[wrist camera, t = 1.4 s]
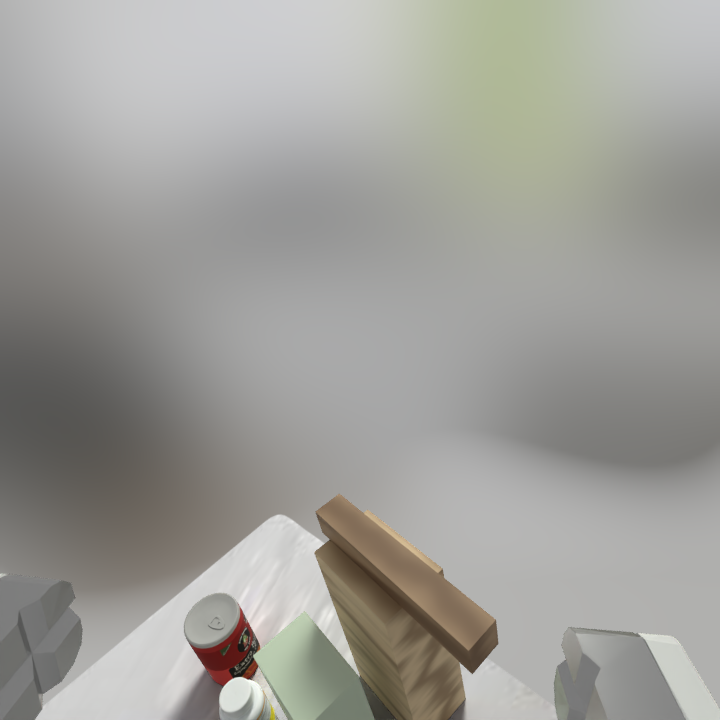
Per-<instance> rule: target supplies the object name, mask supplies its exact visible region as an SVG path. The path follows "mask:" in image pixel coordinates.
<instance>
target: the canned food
mask: <svg viewBox="0 0 720 720" xmlns="http://www.w3.org/2000/svg"><path fill="white" fill-rule="evenodd" d="M184 633H185V636H186V639H187V641H188V642H189V644H190V645H191V647H192V649H193V650H194V652H195V653H196V655H197V656H198V658H199V659H200V661H201V662H202V664H203V665H204V667H205V668H206V670H207V671H208V673H209V674H210V676H211V677H212V679H213V680H214V681H215V682H216V683H218V684H220V685H222V686H225V685H226V684H227V683H228V682H229V681H230V680H232V679H234V678H237V677H243V678H245V679H247V680H248V679H249V678H250V677H251V676H252V675H253V673H254V672H255V670H256V669H257V667H258V664H257V663H256V661H255V659H254V657H253V655H254V654H256V653H257V652H258V651H259V650H260V645H259V642H258V640H257V638H256V636H255V634H254V632H253V631H252V629H251V627H250V625H249V623H248V621H247V619H246V617H245V615H244V613H243V611H242V609H241V608H240V606H239V604H238V602H237V601H236V600H235V599H234V597H232V596H231V595H229V594H227V593H215V594H211V595H208V596H206V597H204V598H203V599H201V600H200V601H199V602H197V603H196V604H195V605H194V606H193V607H192V609H191V610H190V611H189V613H188V615H187V617H186V620H185V623H184Z"/></svg>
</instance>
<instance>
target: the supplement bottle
mask: <svg viewBox="0 0 720 720" xmlns="http://www.w3.org/2000/svg"><path fill="white" fill-rule="evenodd" d="M219 704H220V707H219V716H220V720H278V717H277V715H276V713H275V711H274V709H273V707H272V706H271V704H270V702H269V700H268V699H267V697H266V695H265V693H264V692H263V690H262V688H261V687H260V686H259V684H258V683H256V682H255V681H252V680H247V679H245V678H243V677H237V678H234V679H232V680H230V681H229V682H228V683H227V684H226V685H225V686H224V687H223V689H222V691H221V693H220V696H219Z"/></svg>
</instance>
